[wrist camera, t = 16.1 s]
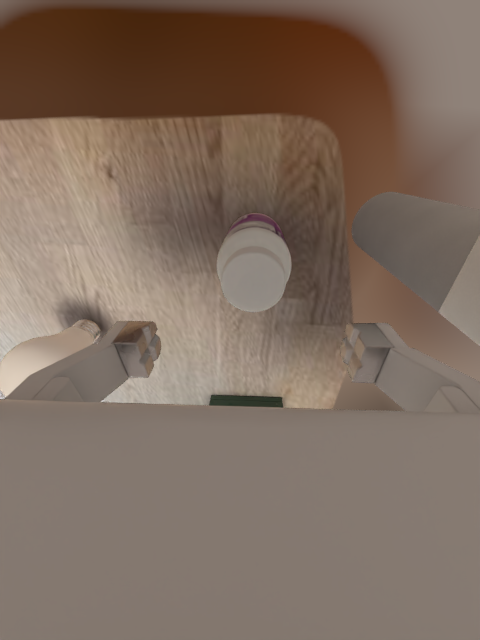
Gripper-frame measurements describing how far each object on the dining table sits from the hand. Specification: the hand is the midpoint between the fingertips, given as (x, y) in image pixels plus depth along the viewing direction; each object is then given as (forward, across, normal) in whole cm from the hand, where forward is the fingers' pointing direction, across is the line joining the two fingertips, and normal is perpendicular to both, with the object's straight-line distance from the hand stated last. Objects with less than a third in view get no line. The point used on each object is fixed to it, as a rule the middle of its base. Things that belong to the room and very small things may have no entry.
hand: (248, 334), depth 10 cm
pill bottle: (+15, 0, 0) cm, 15 cm away
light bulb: (+15, +20, +10) cm, 27 cm away
